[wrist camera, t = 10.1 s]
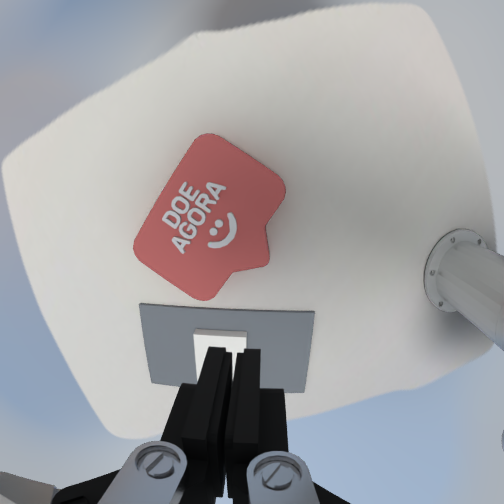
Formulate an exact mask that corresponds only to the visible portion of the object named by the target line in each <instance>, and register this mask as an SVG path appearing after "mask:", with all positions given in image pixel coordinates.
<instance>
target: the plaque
mask: <svg viewBox="0 0 504 504" xmlns="http://www.w3.org/2000/svg"><path fill="white" fill-rule="evenodd" d="M285 193H286V189H285V185H284V182H283V180H282V179H281V178H280V177H279V176H278V175H277V174H275V173H274V172H273V171H271V170H270V169H268V168H267V167H265V166H264V165H262V164H261V163H259V162H258V161H256V160H255V159H253V158H252V157H250V156H249V155H247V154H246V153H244V152H243V151H241V150H240V149H238V148H237V147H235V146H234V145H232V144H231V143H229V142H228V141H226V140H224V139H223V138H221V137H220V136H218V135H214V134H204V135H201V136H199V137H198V138H197V139H195V140H194V142H193V143H192V145H191V146H190V148H189V149H188V151H187V152H186V154H185V156H184V157H183V159H182V160H181V162H180V163H179V165H178V166H177V168H176V170H175V171H174V173H173V174H172V176H171V178H170V179H169V181H168V183H167V184H166V186H165V187H164V189H163V191H162V192H161V194H160V196H159V198H158V199H157V201H156V203H155V204H154V206H153V208H152V210H151V211H150V213H149V215H148V217H147V218H146V220H145V222H144V224H143V225H142V227H141V229H140V231H139V233H138V235H137V236H136V238H135V240H134V245H133V250H134V253H135V256H136V257H137V258H138V259H139V261H140V262H142V263H143V264H145V265H146V266H147V267H149V268H150V269H152V270H153V271H154V272H156V273H157V274H159V275H160V276H162V277H163V278H164V279H166V280H167V281H169V282H170V283H172V284H173V285H175V286H176V287H178V288H179V289H181V290H182V291H183V292H185V293H186V294H188V295H189V296H191V297H192V298H195V299H197V300H202V301H207V300H210V299H212V298H214V297H215V296H216V294H217V293H218V291H219V290H220V289H221V287H222V286H223V285H224V283H225V282H226V281H227V279H228V278H229V276H230V275H231V274H232V272H237V271H243V270H248V269H253V268H258V267H263V266H265V265H267V264H268V263H269V259H270V258H269V248H268V242H267V235H266V229H265V225H266V224H267V222H268V221H269V220H270V218H271V217H272V215H273V214H274V212H275V211H276V210H277V208H278V207H279V205H280V204H281V202H282V201H283V200H284V197H285Z"/></svg>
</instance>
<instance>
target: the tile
mask: <svg viewBox="0 0 504 504" xmlns="http://www.w3.org/2000/svg"><path fill="white" fill-rule="evenodd" d="M193 336H194V349H195V361H196V372H197V381H198V379H199V376H200V372H201V369H202V366H203V363H204V359H205V356H206V353H207V350H208V347H209V346H211V347H226V352H232V366H233V377H234V370H235V363H236V356H237V352H240V353H243V352H244V348H247V331H225V330H208V329H195V332H194V334H193Z"/></svg>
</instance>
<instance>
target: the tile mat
mask: <svg viewBox="0 0 504 504" xmlns="http://www.w3.org/2000/svg"><path fill="white" fill-rule="evenodd" d="M139 308H140V316H141V323H142V330H143V337H144V343H145V350H146V356H147V361H148V367H149V372H150V377H151V383H155V384H162V385H170V386H178V387H180V386H181V384H182V383H190V384H197V382H198V381H197V372H196V361H195V349H194V336H193V334H194V332H195V329H208V330H225V331H247V348H248V349H261V363H260V388H283V389H284V393H304V391H305V384H306V377H307V370H308V363H309V356H310V348H311V341H312V332H313V324H314V315H315V312H314V311H272V310H242V309H219V308H200V307H184V306H170V305H156V304H144V303H140V304H139Z"/></svg>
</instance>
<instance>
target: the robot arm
mask: <svg viewBox="0 0 504 504" xmlns="http://www.w3.org/2000/svg"><path fill="white" fill-rule="evenodd" d="M424 283H425V290H426V293H427V296H428V298H429V300H430V301H431V302H432V304H433V305H434V306H436V307H437V308H438V309H440V310H442V311H445V312H456V311H458V312H459V313H461V314H462V315H463V316H464V317H465V318H467V319H468V320H469V321H470V322H471V323H472V324H474V325H475V326H476V327H477V328H478V329H479V330H480V331H482V332H483V333H484V334H485V335H486V336H487V337H488V338H490V339H491V340H492V341H493V342H494V343H495V344H496V345H498V346H499V347H500V348H501V349H502V350H503V351H504V256H502V255H500V254H498V253H496V252H493V251H491V250H489V249H488V248H487V245H486V243H485V241H484V240H483V238H482V237H481V236H480V235H479V234H477V233H475V232H473V231H470V230H466V229H460V230H455V231H453V232H450V233H449V234H447V235H446V236H444V237H443V238H442V239H441V240H440V241H439V242H438V243H437V245H436V246H435V248H434V249H433V251H432V253H431V255H430V256H429V259H428V262H427V265H426V270H425V278H424ZM260 363H261V349H248V348H244V352H243V353H240V352H237V356H236V363H235V370H234V377H233V366H232V352H226V347H211V346H209V347H208V350H207V353H206V356H205V359H204V363H203V366H202V369H201V372H200V376H199V379H198V382H197V384H190V383H182V384H181V386H180V388H179V391H178V394H177V396H176V399H175V402H174V404H173V407H172V410H171V412H170V415H169V418H168V421H167V423H166V426H165V429H164V432H163V434H162V437H161V440H160V441H151V442H147V443H144V444H142V445H140V446H138V447H137V448H136V449H135V450H134V451H133V452H132V453H131V455H130V456H129V457H128V459H127V460H126V462H125V464H124V465H123V466H122V468H121V469H120V470H117V471H114V472H111V473H109V474H106V475H103V476H100V477H97V478H94V479H91V480H89V481H85V482H82V483H79V484H75V485H72V486H69V487H66V488H64V489H57V488H56V487H55V486H54V485H50V484H46V483H42V482H38V481H33V480H30V479H26V478H23V477H19V476H16V475H13V474H9V473H6V472H0V504H215V501H216V497H223V493H224V485H225V477H227V490H228V498H233V504H350V503H349V502H347V501H345V500H343V499H341V498H340V497H338V496H336V495H334V494H333V493H331V492H329V491H328V490H326V489H324V488H322V487H321V486H319V485H317V484H316V483H314V482H313V481H312V478H311V475H310V472H309V469H308V467H307V465H306V463H305V462H304V461H303V460H302V459H301V458H300V457H298V456H296V455H294V454H292V453H289V452H288V438H287V424H286V423H287V422H286V409H285V395H284V389H283V388H260ZM502 448H503V451H504V430H503V434H502Z"/></svg>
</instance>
